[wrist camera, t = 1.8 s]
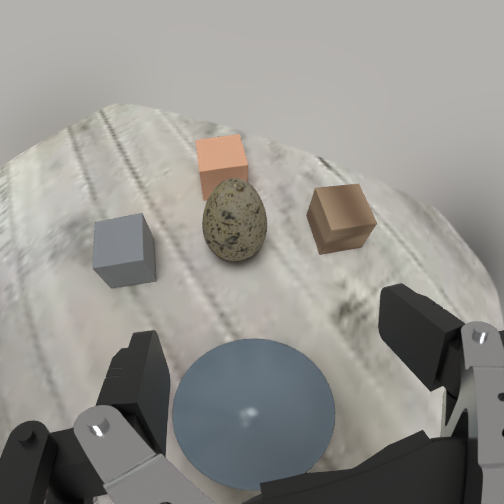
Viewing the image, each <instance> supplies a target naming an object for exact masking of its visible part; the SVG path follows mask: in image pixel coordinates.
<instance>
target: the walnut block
mask: <svg viewBox="0 0 504 504" xmlns="http://www.w3.org/2000/svg"><path fill="white" fill-rule="evenodd" d="M307 219H308V222H309V224H310V227H311V230H312V233H313V236H314V239H315V242H316V245H317V248H318V251H319V254H320V255H321V254H327V253H332V252H338V251H344V250H349V249H355V248H360V247H362V245H363V244H364V242H365V241H366V239H367V238H368V236H369V235H370V233H371V232H372V230H373V229H374V227H375V226H376V224H377V222H376V220H375V218H374V215H373V213H372V211H371V209H370V207H369V204H368V202H367V200H366V198H365V196H364V194H363V192H362V189H361V187H360V185H359V184H351V185H340V186H330V187H321V188H315V190H314V194H313V197H312V200H311V203H310V206H309V209H308V212H307Z"/></svg>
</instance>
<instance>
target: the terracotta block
mask: <svg viewBox="0 0 504 504" xmlns="http://www.w3.org/2000/svg"><path fill="white" fill-rule="evenodd" d="M196 148H197V156H198V163H199V171H200V178H201V185H202V192H203V198H204V201H205V200H208V199H209V197H210V195H211V193H212V192H213V190H214V189H215V188H216V187H217V186H218V185H219V184H220V183H221V182H222V181H224V180H226V179H229V178H239V179H242V180H244V181H246V182H247V179H248V163H247V160H246V156H245V152H244V149H243V145H242V141H241V138H240V134H239V135H230V136H222V137H215V138H208V139H201V140H196Z"/></svg>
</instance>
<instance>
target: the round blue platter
mask: <svg viewBox="0 0 504 504" xmlns="http://www.w3.org/2000/svg"><path fill="white" fill-rule="evenodd" d="M172 412H173V426H174V432H175V435H176V438H177V441H178V443H179V445H180V447H181V449H182V451H183V453H184V454H185V456H186V457H187V459H188V460H189V461H190V462H191V463H192V464H193V465H194V467H196V468H197V469H198V470H199V471H200V472H201V473H203V474H204V475H205V476H207V477H209V478H210V479H212V480H214V481H216V482H218V483H220V484H222V485H225V486H228V487H231V488H236V489H242V490H261V488H260V483H263V482H268V481H273V480H278V479H282V478H287V477H291V476H295V475H299V474H303V473H306V472H307V471H308V470H309V469H311V468H312V467H313V466H314V464H315V463H316V462H317V461H318V460H319V459H320V457H321V456H322V455H323V453H324V452H325V450H326V448H327V446H328V444H329V442H330V439H331V436H332V433H333V428H334V423H335V406H334V400H333V396H332V392H331V390H330V387H329V384H328V383H327V381H326V379H325V377H324V375H323V374H322V373H321V371H320V370H319V368H318V367H317V366H316V365H315V364H314V363H313V362H312V361H311V360H310V359H309V358H307V357H306V356H305V355H304V354H302V353H301V352H299V351H297V350H296V349H294V348H292V347H290V346H287V345H285V344H282V343H279V342H276V341H271V340H265V339H243V340H237V341H233V342H229V343H226V344H223V345H221V346H218V347H216V348H214V349H212V350H211V351H209V352H207V353H206V354H204V355H203V356H202V357H201V358H199V359H198V360H197V361H196V362H195V363H194V364H193V365H192V366H191V367H190V368H189V370H188V371H187V372H186V374H185V375H184V377H183V378H182V380H181V382H180V384H179V386H178V389H177V391H176V394H175V398H174V403H173V411H172Z"/></svg>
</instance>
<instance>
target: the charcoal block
mask: <svg viewBox="0 0 504 504" xmlns="http://www.w3.org/2000/svg"><path fill="white" fill-rule="evenodd" d="M93 269H94V271H95V272H96V273H97V274H98V275H99V276H100V277H101V278H102V279H103V280H104V281H105V282H106V283H107V284H108V285H109V286H110V287H111V288H117V287H124V286H130V285H137V284H143V283H150V282H156V268H155V252H154V238H153V236H152V234H151V232H150V229H149V227H148V225H147V223H146V220H145V218H144V216H143V213H140V214H135V215H129V216H124V217H119V218H114V219H109V220H104V221H99V222H95V231H94V246H93Z"/></svg>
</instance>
